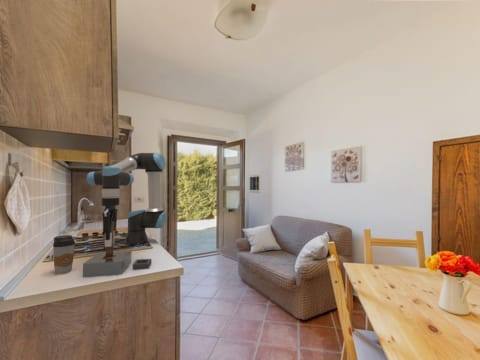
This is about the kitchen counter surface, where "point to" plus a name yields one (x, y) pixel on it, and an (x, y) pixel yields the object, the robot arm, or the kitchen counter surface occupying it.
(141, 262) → the socket
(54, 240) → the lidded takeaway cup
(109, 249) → the stylus
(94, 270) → the box
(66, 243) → the coffee cup
